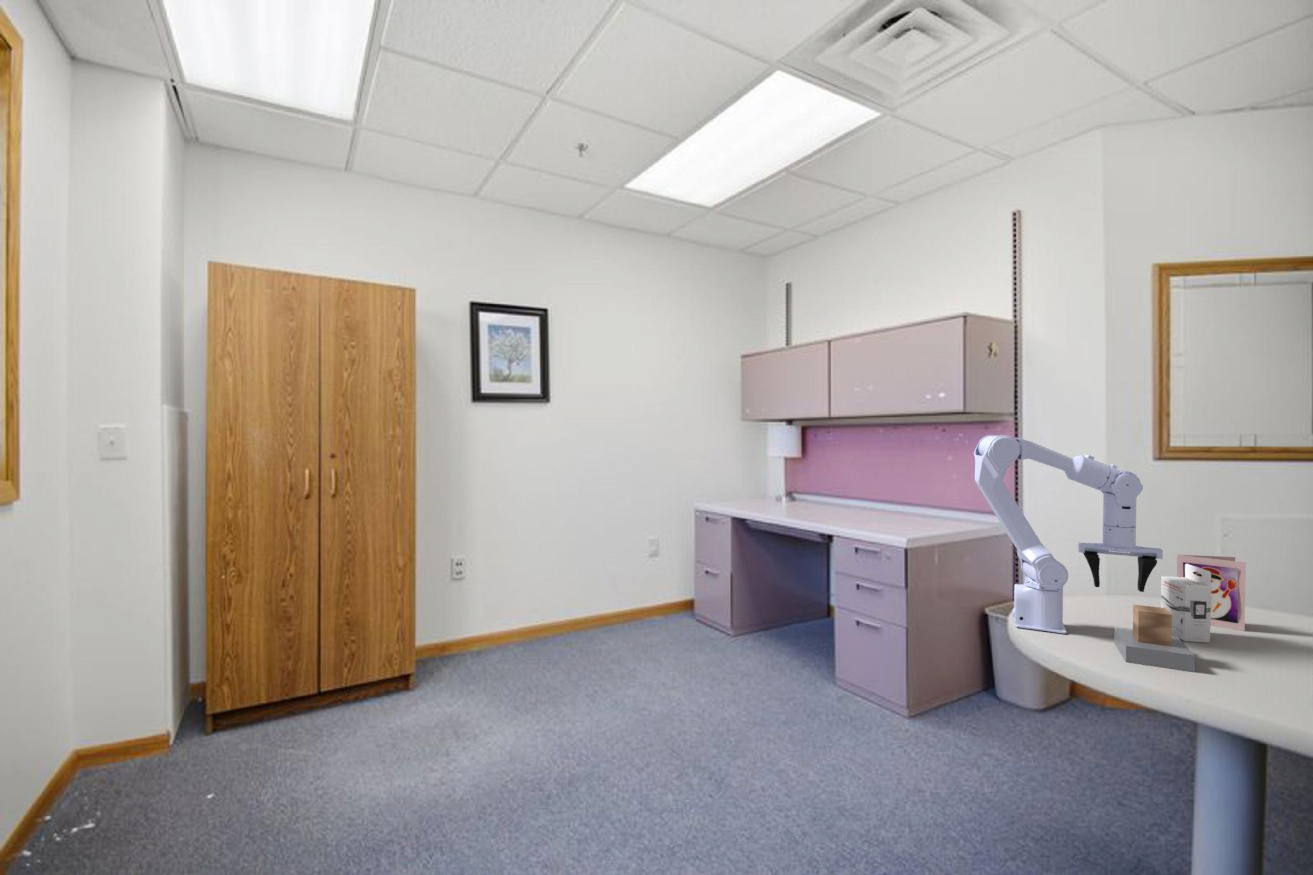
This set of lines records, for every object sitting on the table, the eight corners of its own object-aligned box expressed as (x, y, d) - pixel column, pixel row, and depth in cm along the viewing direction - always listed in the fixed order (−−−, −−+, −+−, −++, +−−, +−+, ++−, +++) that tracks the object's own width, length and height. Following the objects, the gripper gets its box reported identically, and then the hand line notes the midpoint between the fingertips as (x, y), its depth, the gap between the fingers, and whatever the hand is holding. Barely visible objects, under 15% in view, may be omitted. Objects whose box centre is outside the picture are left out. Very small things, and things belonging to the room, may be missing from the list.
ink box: (1158, 628, 135) (1159, 561, 134) (1184, 630, 134) (1185, 562, 133) (1183, 641, 126) (1184, 570, 126) (1211, 643, 125) (1212, 571, 125)
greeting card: (1175, 619, 141) (1176, 555, 141) (1180, 613, 146) (1181, 551, 146) (1244, 632, 133) (1245, 563, 132) (1247, 624, 138) (1247, 558, 137)
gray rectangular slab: (1125, 661, 115) (1125, 645, 115) (1114, 642, 125) (1114, 628, 125) (1194, 672, 110) (1195, 655, 110) (1176, 651, 120) (1176, 636, 120)
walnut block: (1138, 642, 117) (1138, 610, 117) (1132, 634, 121) (1133, 604, 121) (1171, 646, 114) (1172, 614, 114) (1165, 638, 119) (1165, 608, 119)
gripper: (1081, 525, 132) (1080, 588, 132) (1166, 531, 125) (1166, 597, 125) (1076, 521, 138) (1076, 581, 138) (1158, 526, 131) (1157, 589, 131)
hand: (1118, 588), depth 132 cm, fingers open, 7 cm apart
